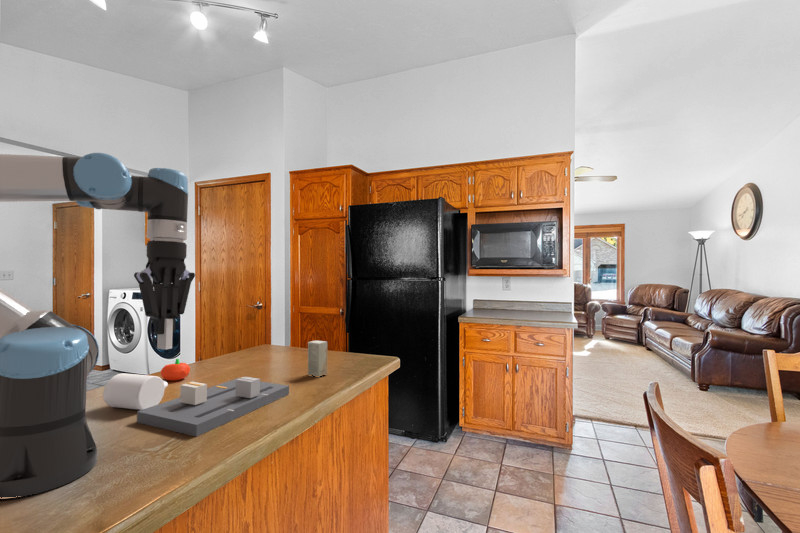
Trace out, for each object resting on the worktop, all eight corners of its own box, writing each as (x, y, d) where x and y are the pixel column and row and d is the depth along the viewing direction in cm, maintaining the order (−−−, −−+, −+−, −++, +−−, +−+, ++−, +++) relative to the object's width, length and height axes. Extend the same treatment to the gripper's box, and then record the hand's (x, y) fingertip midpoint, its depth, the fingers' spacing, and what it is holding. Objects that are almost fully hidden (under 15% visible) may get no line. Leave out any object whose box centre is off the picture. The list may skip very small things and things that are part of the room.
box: (327, 375, 128) (328, 341, 128) (318, 378, 124) (319, 343, 124) (316, 372, 131) (316, 339, 131) (306, 375, 127) (307, 341, 127)
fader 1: (195, 405, 90) (195, 387, 90) (180, 402, 91) (180, 384, 91) (206, 400, 93) (207, 383, 93) (191, 398, 94) (192, 380, 94)
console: (199, 437, 79) (200, 425, 79) (136, 422, 86) (137, 410, 86) (291, 394, 107) (291, 385, 107) (238, 386, 114) (238, 377, 114)
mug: (137, 415, 90) (138, 381, 90) (102, 411, 92) (103, 378, 92) (176, 399, 102) (177, 368, 102) (144, 395, 104) (145, 366, 104)
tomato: (158, 381, 119) (158, 360, 119) (187, 377, 124) (186, 356, 125) (163, 383, 114) (163, 361, 114) (193, 379, 119) (193, 357, 120)
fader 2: (250, 398, 95) (250, 381, 95) (235, 395, 97) (235, 378, 97) (259, 394, 98) (260, 378, 98) (244, 392, 100) (245, 375, 100)
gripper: (150, 238, 78) (147, 356, 77) (204, 242, 90) (202, 344, 89) (125, 238, 80) (122, 352, 80) (181, 243, 92) (179, 342, 92)
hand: (164, 348), depth 85 cm, fingers closed
